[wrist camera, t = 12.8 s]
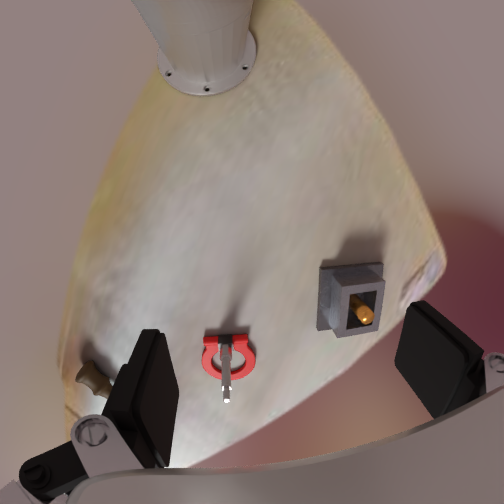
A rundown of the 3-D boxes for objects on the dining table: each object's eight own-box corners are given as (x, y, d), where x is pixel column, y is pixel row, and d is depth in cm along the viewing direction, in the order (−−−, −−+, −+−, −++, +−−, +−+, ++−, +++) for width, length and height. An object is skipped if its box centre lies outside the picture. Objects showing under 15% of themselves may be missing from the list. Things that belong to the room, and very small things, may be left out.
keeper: (319, 267, 40) (336, 287, 33) (380, 261, 41) (404, 279, 34) (316, 327, 43) (330, 354, 36) (372, 318, 44) (392, 341, 37)
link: (331, 275, 39) (342, 286, 36) (372, 270, 40) (385, 281, 36) (328, 323, 42) (337, 338, 38) (367, 317, 42) (377, 330, 38)
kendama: (99, 346, 42) (184, 413, 47) (77, 369, 43) (154, 428, 48) (86, 367, 36) (180, 437, 41) (64, 388, 38) (149, 450, 43)
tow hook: (255, 373, 45) (253, 330, 42) (264, 434, 33) (262, 393, 30) (206, 377, 45) (197, 334, 42) (203, 438, 33) (190, 397, 30)
